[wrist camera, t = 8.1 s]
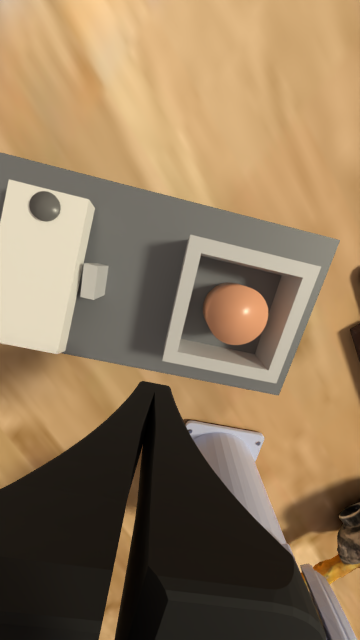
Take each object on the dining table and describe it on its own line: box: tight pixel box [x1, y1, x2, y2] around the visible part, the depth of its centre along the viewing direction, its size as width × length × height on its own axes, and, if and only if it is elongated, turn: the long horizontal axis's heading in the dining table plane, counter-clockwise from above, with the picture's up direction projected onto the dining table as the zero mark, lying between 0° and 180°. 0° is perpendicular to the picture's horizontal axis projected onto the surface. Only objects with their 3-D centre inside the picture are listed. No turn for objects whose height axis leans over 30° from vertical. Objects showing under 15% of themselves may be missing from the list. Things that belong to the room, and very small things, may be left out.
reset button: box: [203, 282, 268, 345], centre depth 14 cm, size 4×4×2 cm
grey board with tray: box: [0, 153, 340, 395], centre depth 15 cm, size 12×24×6 cm, turn 77°
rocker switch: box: [0, 179, 95, 354], centre depth 12 cm, size 9×4×1 cm, turn 167°
